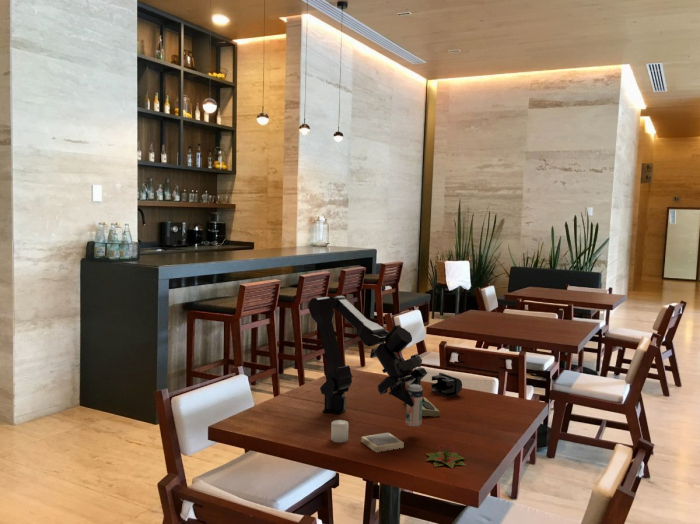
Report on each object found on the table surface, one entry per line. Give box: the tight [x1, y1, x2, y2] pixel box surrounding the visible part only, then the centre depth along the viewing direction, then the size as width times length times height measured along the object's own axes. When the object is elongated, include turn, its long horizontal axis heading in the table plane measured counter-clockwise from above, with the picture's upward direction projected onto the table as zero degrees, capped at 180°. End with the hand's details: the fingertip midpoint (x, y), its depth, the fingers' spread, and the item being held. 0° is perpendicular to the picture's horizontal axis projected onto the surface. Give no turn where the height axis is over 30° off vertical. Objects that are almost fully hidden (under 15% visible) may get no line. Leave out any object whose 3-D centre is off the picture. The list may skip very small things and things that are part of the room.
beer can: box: [405, 384, 424, 428], centre depth 183 cm, size 5×5×12 cm
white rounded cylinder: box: [330, 419, 349, 443], centre depth 179 cm, size 5×5×5 cm
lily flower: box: [424, 444, 467, 470], centre depth 165 cm, size 12×12×5 cm
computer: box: [403, 396, 441, 417], centre depth 209 cm, size 16×8×3 cm, turn 11°
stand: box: [360, 432, 405, 453], centre depth 176 cm, size 9×9×2 cm
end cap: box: [430, 372, 463, 398], centre depth 230 cm, size 10×7×7 cm
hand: (418, 404), depth 182 cm, fingers closed on beer can, 5 cm apart
